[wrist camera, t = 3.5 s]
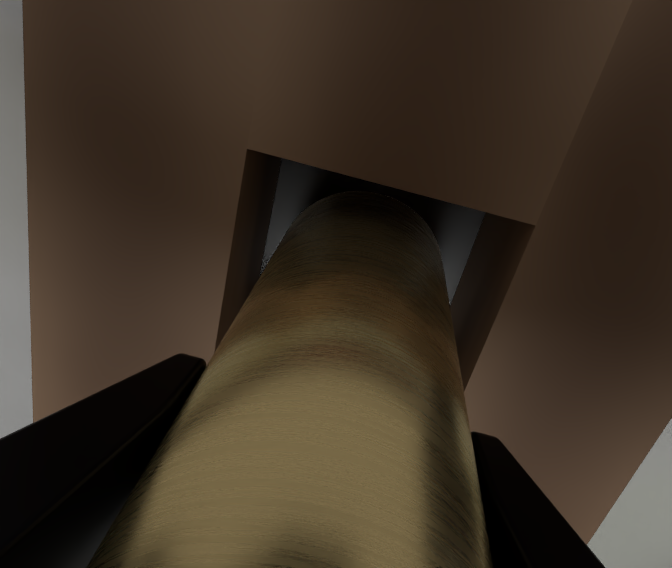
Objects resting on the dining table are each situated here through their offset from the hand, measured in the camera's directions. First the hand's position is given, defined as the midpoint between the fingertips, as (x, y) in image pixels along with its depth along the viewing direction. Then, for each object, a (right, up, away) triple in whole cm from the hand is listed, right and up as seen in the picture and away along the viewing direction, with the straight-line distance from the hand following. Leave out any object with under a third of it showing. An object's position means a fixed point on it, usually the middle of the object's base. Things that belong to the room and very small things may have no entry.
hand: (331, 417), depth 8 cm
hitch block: (+1, +3, +7) cm, 7 cm away
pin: (+1, +2, +5) cm, 6 cm away
